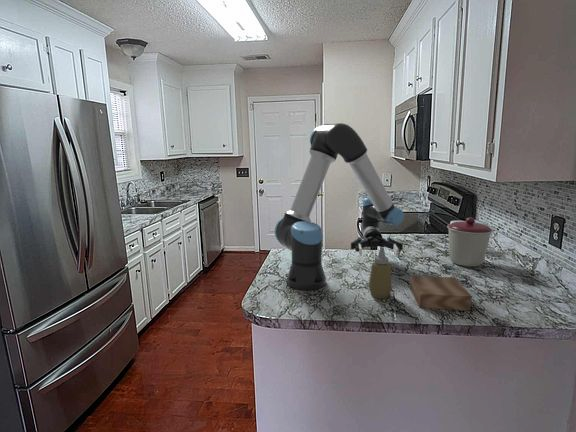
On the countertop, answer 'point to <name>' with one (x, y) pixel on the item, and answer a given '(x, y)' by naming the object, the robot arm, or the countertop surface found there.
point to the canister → (468, 242)
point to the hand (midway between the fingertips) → (379, 252)
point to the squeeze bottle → (380, 276)
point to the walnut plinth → (439, 293)
